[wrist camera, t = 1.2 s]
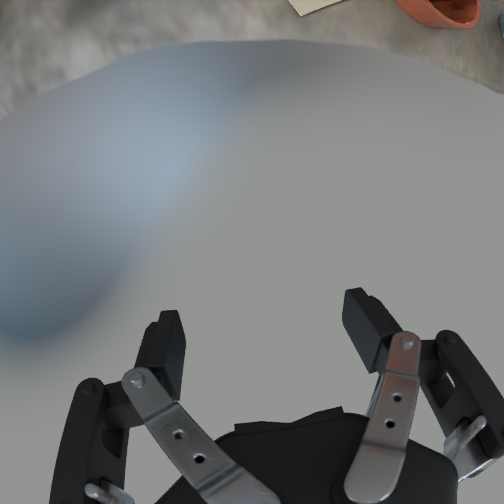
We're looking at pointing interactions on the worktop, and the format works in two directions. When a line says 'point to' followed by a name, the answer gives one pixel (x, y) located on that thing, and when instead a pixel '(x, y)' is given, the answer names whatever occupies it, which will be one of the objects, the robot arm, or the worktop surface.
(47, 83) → the worktop surface
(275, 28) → the worktop surface
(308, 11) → the cloth
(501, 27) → the blue embossed planter
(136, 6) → the worktop surface
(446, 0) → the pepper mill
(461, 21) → the pot
